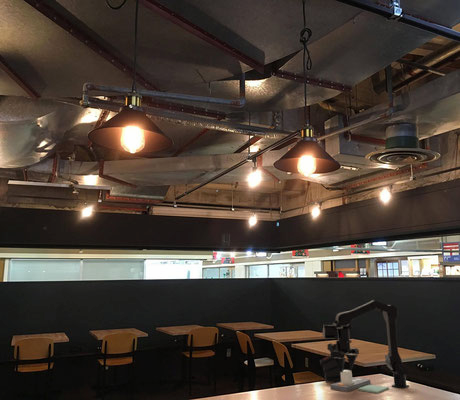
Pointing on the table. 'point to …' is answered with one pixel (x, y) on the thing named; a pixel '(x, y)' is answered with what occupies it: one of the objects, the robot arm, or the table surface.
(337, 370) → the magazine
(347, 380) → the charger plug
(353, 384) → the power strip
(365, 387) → the green mat
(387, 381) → the table surface
